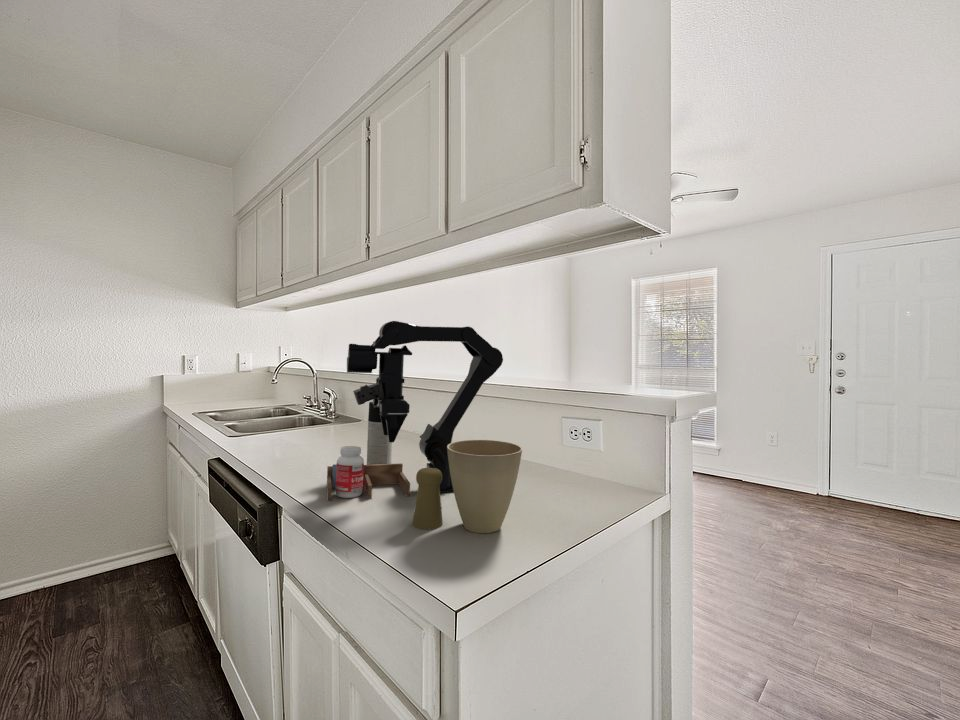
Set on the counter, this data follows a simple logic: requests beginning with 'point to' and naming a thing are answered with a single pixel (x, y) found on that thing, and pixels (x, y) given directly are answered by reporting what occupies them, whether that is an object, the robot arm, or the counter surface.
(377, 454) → the spray can
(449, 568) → the counter surface
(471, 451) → the plant pot
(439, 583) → the counter surface
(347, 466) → the pill bottle
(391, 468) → the divider rack
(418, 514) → the olive green peg figure
